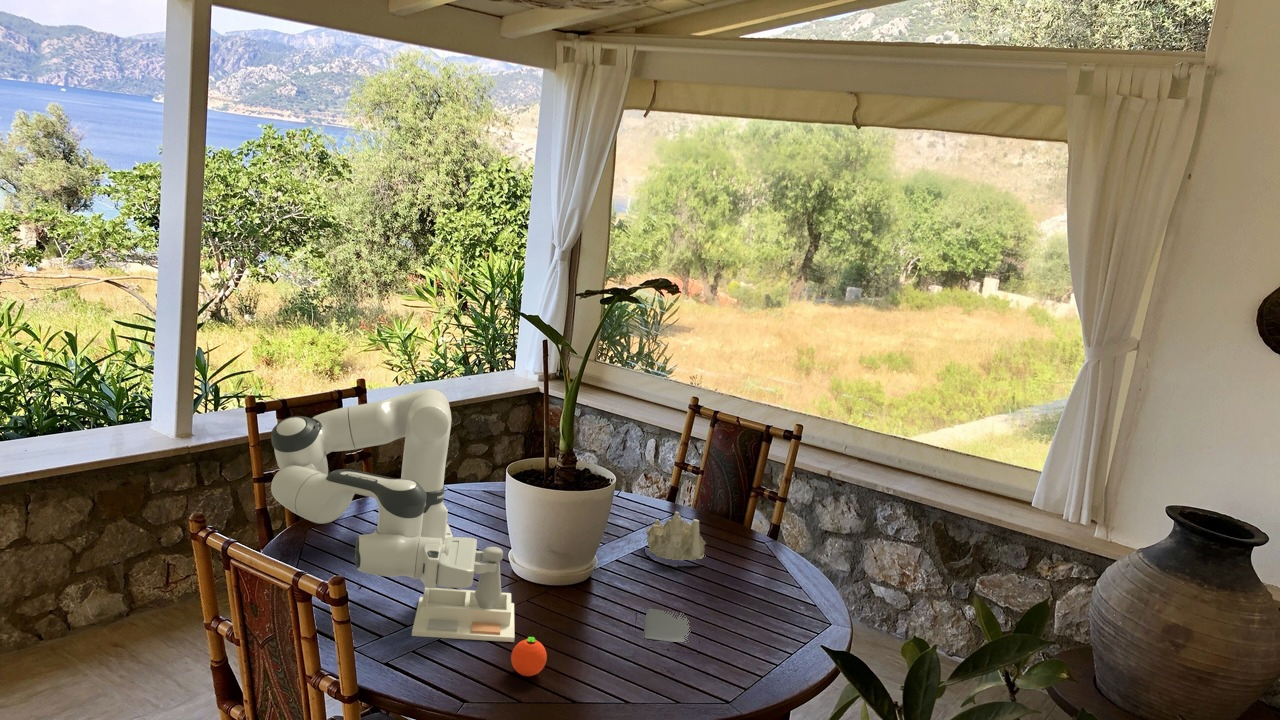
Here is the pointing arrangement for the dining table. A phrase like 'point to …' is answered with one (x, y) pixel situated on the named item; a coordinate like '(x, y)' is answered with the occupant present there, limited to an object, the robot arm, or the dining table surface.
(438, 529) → the robot arm
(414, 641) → the dining table surface
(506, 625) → the divided organizer tray
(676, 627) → the wallet
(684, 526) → the sand castle
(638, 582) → the dining table surface
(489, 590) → the salt shaker
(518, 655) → the clementine
